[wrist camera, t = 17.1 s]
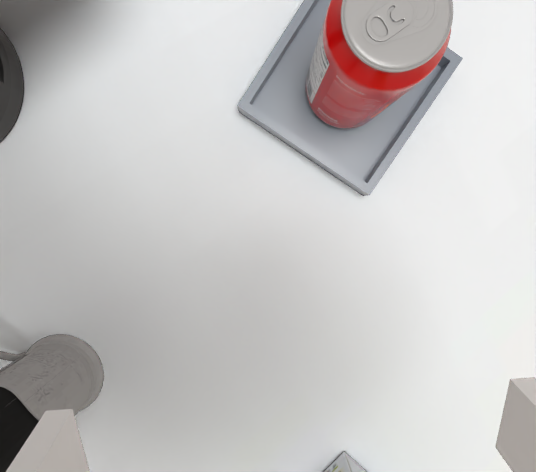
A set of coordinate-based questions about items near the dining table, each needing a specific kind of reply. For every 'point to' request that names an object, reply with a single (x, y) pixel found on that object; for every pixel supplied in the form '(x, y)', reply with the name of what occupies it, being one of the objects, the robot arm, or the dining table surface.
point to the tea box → (345, 465)
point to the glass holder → (44, 387)
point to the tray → (318, 132)
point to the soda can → (374, 56)
